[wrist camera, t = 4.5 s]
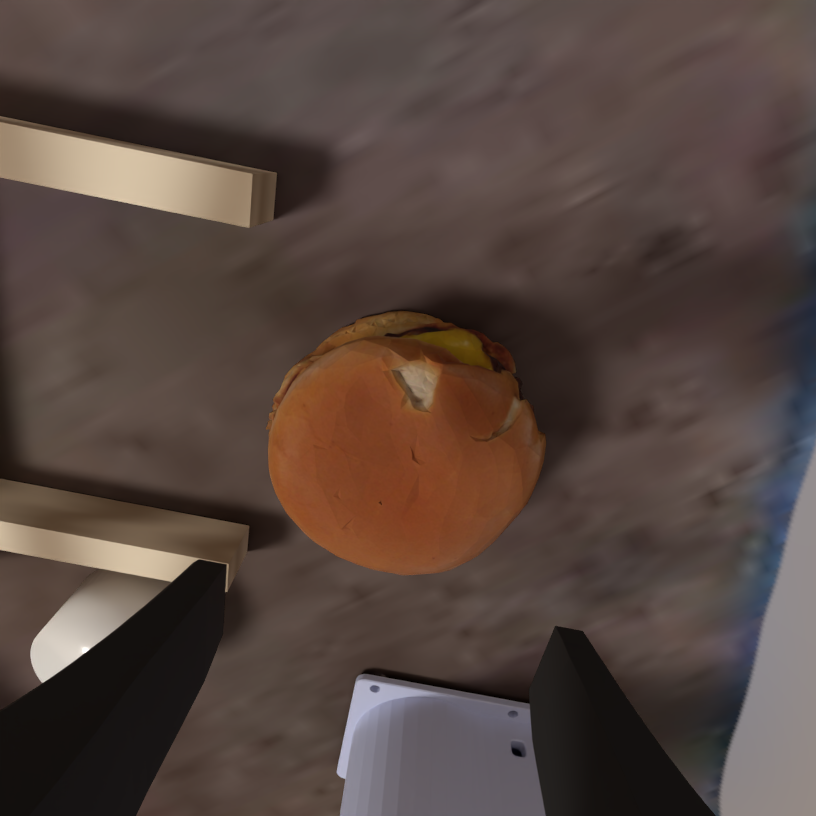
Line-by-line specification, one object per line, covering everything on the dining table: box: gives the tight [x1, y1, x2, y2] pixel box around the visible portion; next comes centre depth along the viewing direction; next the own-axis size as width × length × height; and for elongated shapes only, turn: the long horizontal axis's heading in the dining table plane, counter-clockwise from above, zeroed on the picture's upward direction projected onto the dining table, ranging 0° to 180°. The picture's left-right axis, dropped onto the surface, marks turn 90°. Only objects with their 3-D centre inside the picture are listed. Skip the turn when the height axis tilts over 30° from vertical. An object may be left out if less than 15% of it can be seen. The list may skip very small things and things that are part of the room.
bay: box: [0, 116, 277, 592], centre depth 19 cm, size 14×16×3 cm
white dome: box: [31, 569, 171, 683], centre depth 25 cm, size 6×6×4 cm
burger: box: [266, 311, 546, 575], centre depth 19 cm, size 10×9×5 cm
